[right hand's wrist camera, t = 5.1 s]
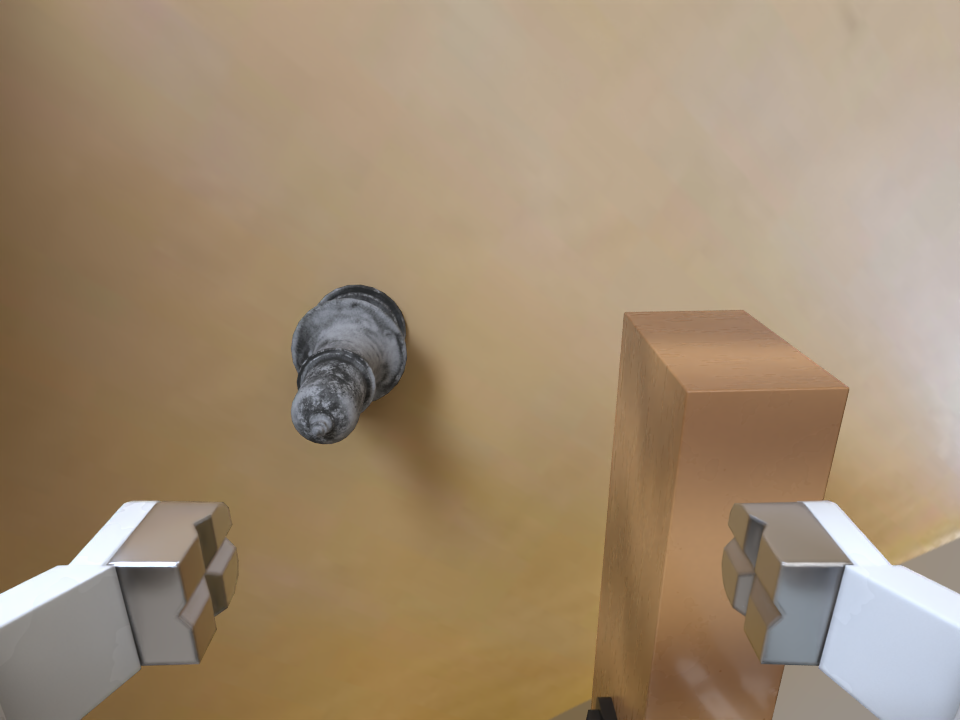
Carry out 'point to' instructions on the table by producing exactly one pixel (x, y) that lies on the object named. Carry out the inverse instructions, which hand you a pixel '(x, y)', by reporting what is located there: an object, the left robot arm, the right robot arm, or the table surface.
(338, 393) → the dark grey chess piece
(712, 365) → the bar
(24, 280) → the table surface
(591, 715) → the left robot arm
